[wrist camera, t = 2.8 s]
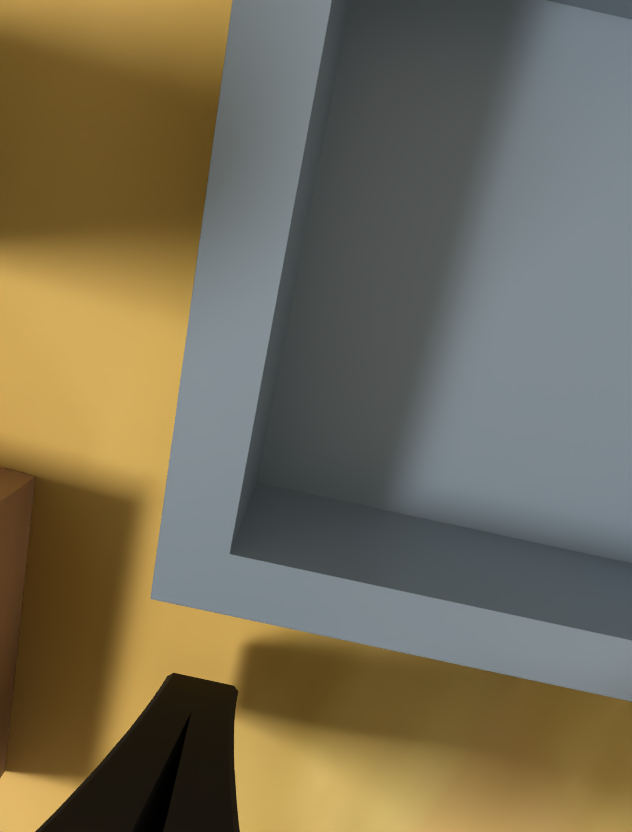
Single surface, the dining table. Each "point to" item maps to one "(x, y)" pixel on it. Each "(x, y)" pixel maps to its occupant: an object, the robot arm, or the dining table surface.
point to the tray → (416, 336)
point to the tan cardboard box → (12, 583)
